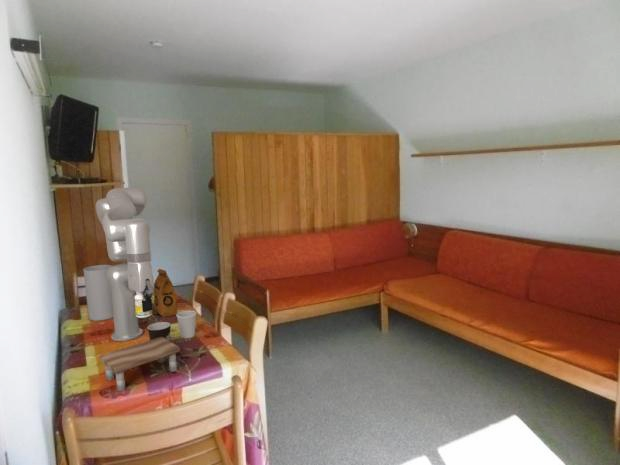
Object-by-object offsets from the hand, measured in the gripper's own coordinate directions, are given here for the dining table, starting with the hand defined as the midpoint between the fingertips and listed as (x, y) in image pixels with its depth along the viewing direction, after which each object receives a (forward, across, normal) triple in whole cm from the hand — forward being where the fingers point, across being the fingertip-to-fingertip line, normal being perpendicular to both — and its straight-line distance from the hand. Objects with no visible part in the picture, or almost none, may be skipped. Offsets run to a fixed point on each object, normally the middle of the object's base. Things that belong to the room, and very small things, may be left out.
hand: (143, 308), depth 142 cm
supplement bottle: (+3, 0, 0) cm, 3 cm away
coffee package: (+24, -54, +34) cm, 68 cm away
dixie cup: (+24, -19, +26) cm, 40 cm away
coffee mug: (+24, -15, +13) cm, 31 cm away
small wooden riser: (+23, 0, -2) cm, 23 cm away
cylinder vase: (+24, -74, +10) cm, 78 cm away
